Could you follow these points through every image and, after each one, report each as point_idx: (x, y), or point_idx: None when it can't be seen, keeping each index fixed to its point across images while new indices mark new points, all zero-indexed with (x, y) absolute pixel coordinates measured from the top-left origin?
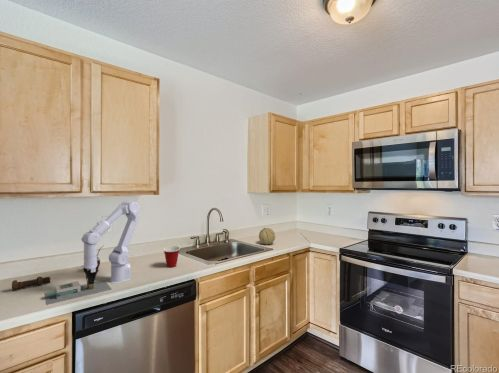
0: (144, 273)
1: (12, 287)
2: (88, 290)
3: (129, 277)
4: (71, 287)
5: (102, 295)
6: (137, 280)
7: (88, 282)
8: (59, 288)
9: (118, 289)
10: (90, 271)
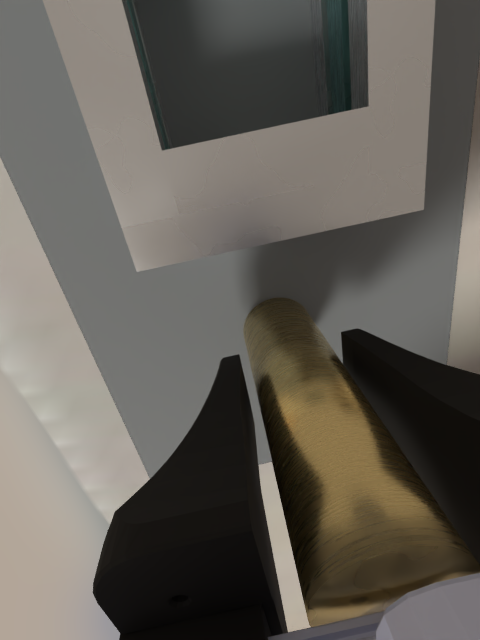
0: None
1: None
2: (224, 315)
3: None
4: (99, 118)
5: (56, 428)
6: (287, 587)
7: (219, 372)
8: None
9: None
10: (122, 638)
